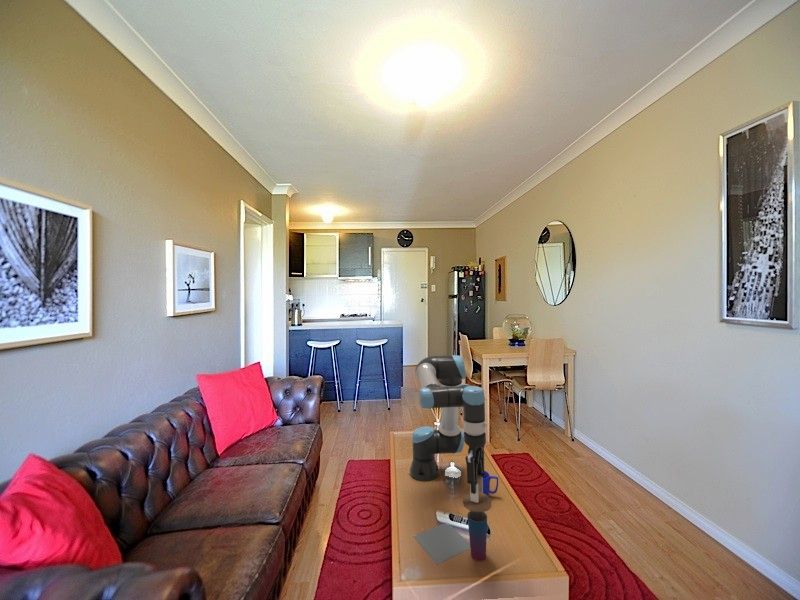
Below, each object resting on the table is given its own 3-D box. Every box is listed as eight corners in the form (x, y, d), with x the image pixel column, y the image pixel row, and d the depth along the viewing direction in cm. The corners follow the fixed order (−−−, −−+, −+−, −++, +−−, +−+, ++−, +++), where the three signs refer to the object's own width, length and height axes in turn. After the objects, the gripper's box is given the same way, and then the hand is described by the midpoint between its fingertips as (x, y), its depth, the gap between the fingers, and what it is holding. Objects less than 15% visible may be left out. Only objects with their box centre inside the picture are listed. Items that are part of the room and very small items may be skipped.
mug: (499, 502, 152) (499, 480, 152) (472, 500, 155) (471, 478, 155) (498, 492, 160) (497, 470, 160) (472, 490, 163) (471, 469, 163)
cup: (466, 551, 123) (465, 510, 123) (484, 549, 124) (483, 508, 124) (471, 566, 117) (470, 522, 117) (491, 564, 117) (489, 521, 117)
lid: (456, 500, 122) (456, 474, 122) (478, 492, 127) (477, 467, 127) (475, 515, 113) (474, 488, 113) (497, 506, 118) (496, 479, 118)
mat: (413, 539, 131) (413, 536, 131) (447, 524, 138) (446, 522, 138) (437, 567, 117) (436, 564, 117) (473, 549, 124) (473, 546, 124)
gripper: (477, 442, 111) (479, 514, 111) (492, 425, 125) (494, 488, 125) (455, 438, 115) (457, 507, 115) (472, 422, 129) (474, 483, 129)
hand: (476, 497), depth 120 cm, fingers closed on lid, 4 cm apart
